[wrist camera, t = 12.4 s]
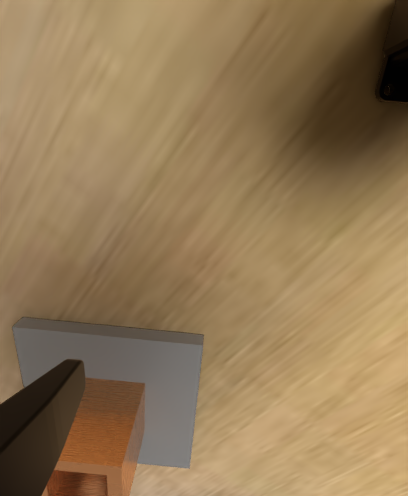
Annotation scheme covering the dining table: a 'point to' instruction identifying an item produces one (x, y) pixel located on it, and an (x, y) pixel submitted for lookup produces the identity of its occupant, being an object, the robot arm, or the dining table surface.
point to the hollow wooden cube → (102, 441)
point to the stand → (126, 374)
